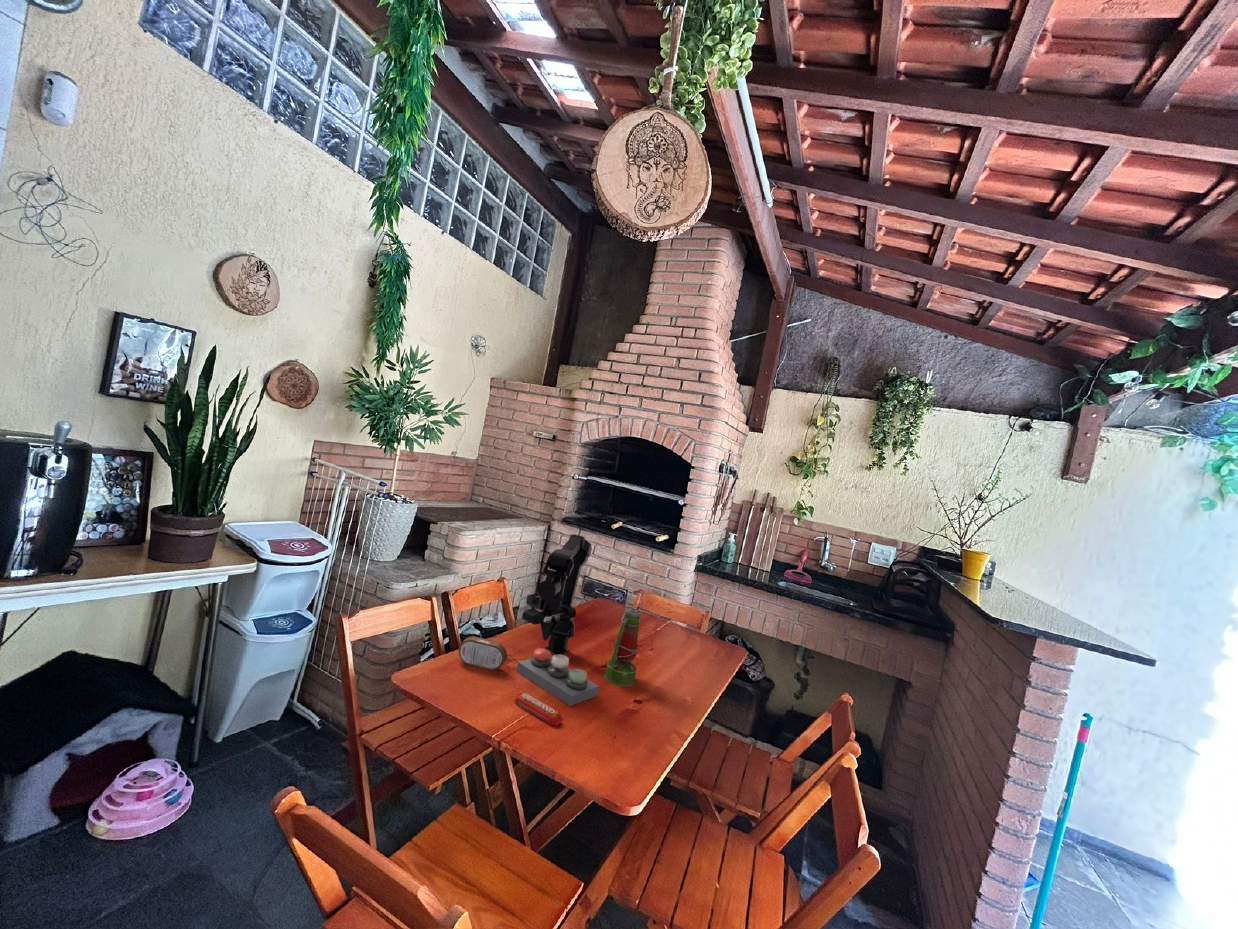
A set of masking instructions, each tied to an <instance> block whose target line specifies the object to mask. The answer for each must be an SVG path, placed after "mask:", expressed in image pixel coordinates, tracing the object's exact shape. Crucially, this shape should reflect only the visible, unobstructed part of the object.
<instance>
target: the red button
mask: <svg viewBox="0 0 1238 929" xmlns="http://www.w3.org/2000/svg"><path fill="white" fill-rule="evenodd" d="M533 655H534V657H533V658H534V659H535V660H537V661H540V662H547V661H549V660H550V658H551V655H552V652H551V651H549V650H548V649H546V648H535V649H534V653H533Z"/></svg>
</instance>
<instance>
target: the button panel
mask: <svg viewBox="0 0 1238 929" xmlns="http://www.w3.org/2000/svg"><path fill="white" fill-rule="evenodd" d="M533 657H534V654H533V655H532V656H531V658H529V659H524V660H520V661H517V666H516V672H517V673H518V674H520V675H521V676H523V677H524V678H526V679H527V678H528V679H527V680H529V681H530V682H531V683H533V682H534V683H533V684H535V685H536V686H539V688H541V689H542V690H545V691H546V692H547V691H548V694H551V695H552V696H553V697H555V698H557V699H558V700H560V701H561V702H563V703H564V704H566V705H567V706H569V707H572V706H574V705H576V704H580V703H582V702H585V701H587V700H590V699H592V698H595V697H598V694H599V688H600V686H599V685H598V684H596V683H594V682H593V681H592V680H589V679H588V678H586V682H585V683H582V684H578V683H574V682H572V681H570V680H569V675H570V671H571V670H572V669H570V668H568V667H567V668H557V667H554V666H553V665H552V664H551V663H552V657H550V660H549V661H547V662H540V661H537V660H535V659H534V658H533Z"/></svg>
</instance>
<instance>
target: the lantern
mask: <svg viewBox="0 0 1238 929" xmlns="http://www.w3.org/2000/svg"><path fill="white" fill-rule="evenodd" d="M634 594H641V601H640V605H639V610H638V609H637V604H635V602H633V603H632V606H631V607H630V608H628V604H629V600H630V597H631V596H632V595H634ZM643 598H644V594H643V592H642V591H641V590H640V589H638V590H633V591H632V592H631V593H630V594H629V596H628V597H627V601H626V606H625V610H624V614H623V615H622V618H621V619H620V622H621V624H620V627H619V630H618V634H617V636H616V641H613V648H612V651H613V652H612V655H611V657H610V658H611V659H610V660H608V661H607V663H606V669H605V672H604V675H603V677H604V679H605V680H606V681H607V682H608V683H610V684H613V685H615V686H618V687H632V686H634V684H636V674H637V667H636V665H635V664H633V662H634V660H635V658H636V656H637V655H638V650H639V643H638V640H639V633H640V626H641V625H640V624H641V621H640V620H641V617H642V605H643V604H642V603H643ZM634 604H635V606H634Z"/></svg>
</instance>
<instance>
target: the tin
mask: <svg viewBox="0 0 1238 929" xmlns="http://www.w3.org/2000/svg"><path fill="white" fill-rule="evenodd" d="M458 656H459V658H460V660H461V661H462V662H463V663H465V665H470V666H473V667H477V668H480V667H481V669H484V668H485V669H486V670H489V671H496V670H498V669H500V668H501V667H502V666H504V664H505V662H506V661H507V658H508V652H507V649H506V648H505V646H504V645H503V644H502V643H500V642H498V641H494V640H491V639H486V638H482V637H478V636H468V637H466V638H465V639H464V640H463V641H462V642H461V644H459V647H458Z"/></svg>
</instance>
